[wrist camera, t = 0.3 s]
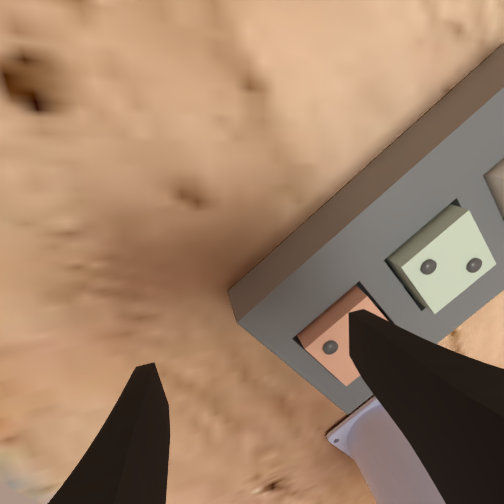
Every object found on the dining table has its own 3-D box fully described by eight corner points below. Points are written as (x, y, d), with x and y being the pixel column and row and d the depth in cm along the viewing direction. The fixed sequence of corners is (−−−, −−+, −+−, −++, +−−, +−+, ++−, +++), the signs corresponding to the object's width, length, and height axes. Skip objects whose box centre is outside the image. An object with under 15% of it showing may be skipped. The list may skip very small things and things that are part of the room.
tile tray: (553, 192, 24) (610, 203, 21) (326, 378, 26) (348, 414, 23) (503, 43, 19) (569, 28, 16) (227, 291, 21) (236, 322, 18)
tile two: (471, 252, 21) (498, 265, 19) (414, 299, 21) (436, 315, 19) (443, 201, 19) (471, 210, 17) (382, 254, 19) (402, 268, 17)
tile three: (386, 322, 21) (405, 341, 20) (333, 366, 22) (347, 388, 20) (351, 281, 19) (368, 297, 18) (294, 330, 20) (305, 350, 18)
